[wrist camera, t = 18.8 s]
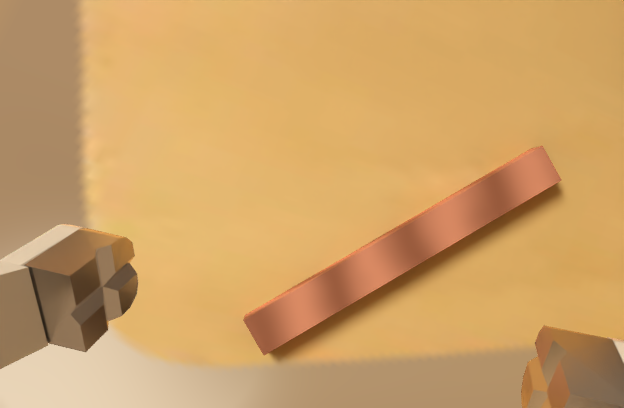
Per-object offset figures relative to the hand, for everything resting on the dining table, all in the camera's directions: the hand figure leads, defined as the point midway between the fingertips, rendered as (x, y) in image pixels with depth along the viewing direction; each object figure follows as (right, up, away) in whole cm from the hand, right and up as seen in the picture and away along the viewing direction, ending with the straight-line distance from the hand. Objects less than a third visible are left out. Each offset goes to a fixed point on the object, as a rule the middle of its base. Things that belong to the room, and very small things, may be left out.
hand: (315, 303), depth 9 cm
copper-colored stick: (+7, -1, +27) cm, 28 cm away
